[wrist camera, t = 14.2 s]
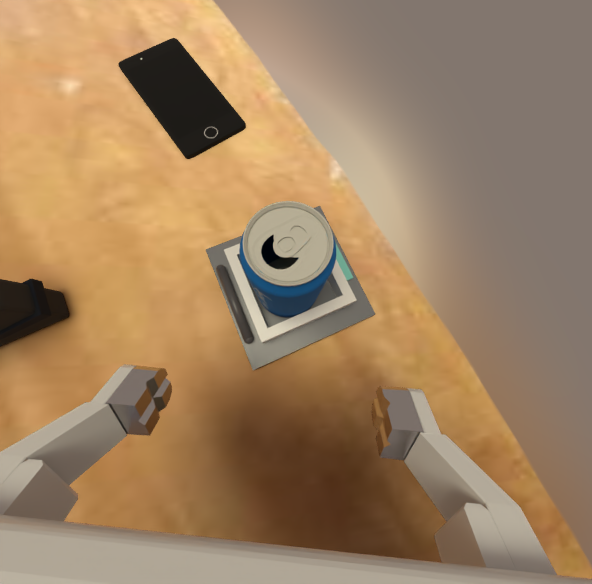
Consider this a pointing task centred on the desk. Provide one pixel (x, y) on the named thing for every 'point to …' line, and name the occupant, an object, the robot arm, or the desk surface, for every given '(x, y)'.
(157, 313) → the desk surface
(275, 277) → the beverage can
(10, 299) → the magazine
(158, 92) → the cell phone
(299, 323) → the charging dock
